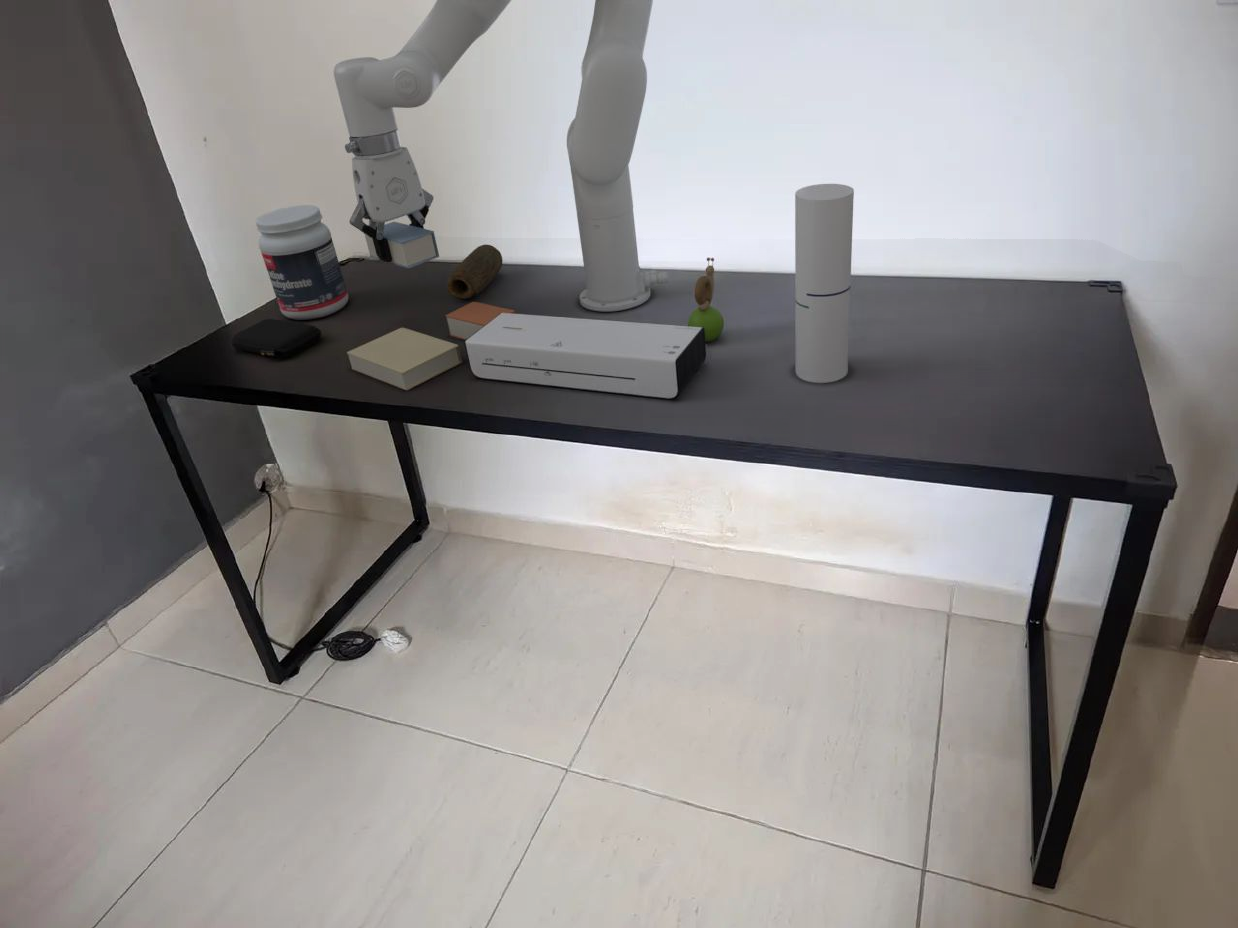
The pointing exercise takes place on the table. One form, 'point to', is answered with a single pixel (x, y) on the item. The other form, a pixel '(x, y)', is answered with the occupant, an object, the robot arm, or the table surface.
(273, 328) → the carrying case
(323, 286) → the supplement tub
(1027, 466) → the table surface
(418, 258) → the grey blue book
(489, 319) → the terracotta book
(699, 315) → the snail figurine
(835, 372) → the cylindrical container
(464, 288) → the brown vase
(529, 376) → the laminator
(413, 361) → the cream hardcover
